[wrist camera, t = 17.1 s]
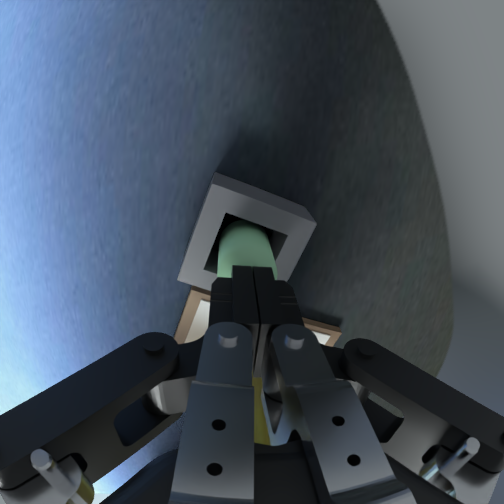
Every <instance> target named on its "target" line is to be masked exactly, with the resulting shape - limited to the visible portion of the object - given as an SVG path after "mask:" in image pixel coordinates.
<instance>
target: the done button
mask: <svg viewBox="0 0 504 504" xmlns="http://www.w3.org/2000/svg"><path fill="white" fill-rule="evenodd" d="M232 265H242V266H251V267H252V266H260V267H272V270H273V274H274V278H275V280H277V267H276V264H275V260H274V257H273V253H272V250H271V246H270V243H269V239H268V236H267V233H266V231H265V230H264V228H263V227H262V226H261V225H259V224H256V223H254V222H251V221H248V220H238V221H235V222H233V223H231V224H229V225H228V226H227V227H226V228H225V229H224V230H223V231H222V233H221V236H220V240H219V254H218V271H217V277H227V278H231V271H232Z"/></svg>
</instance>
